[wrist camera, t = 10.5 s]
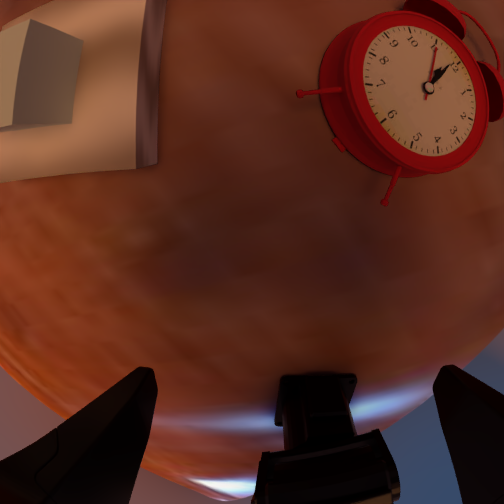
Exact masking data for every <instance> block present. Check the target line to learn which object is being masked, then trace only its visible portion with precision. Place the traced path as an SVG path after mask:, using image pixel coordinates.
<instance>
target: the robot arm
mask: <svg viewBox="0 0 504 504" xmlns="http://www.w3.org/2000/svg"><path fill="white" fill-rule="evenodd" d="M350 380H351V381H350ZM285 382H287V383H285ZM356 384H357V377H356V375H353V374H351V375H330V376H284V377H282V378H281V379H280V384H279V392H278V399H277V406H276V413H275V420H274V422H275V425H276V426H283V434H284V451H277V452H270V451H268V452H262V457H261V461H259V467H258V474H257V481H256V487H255V492H254V495H253V497H252V500H251V504H393V502H394V501H397V500H399V498H400V481H399V476H398V471H397V468H396V464H395V462H394V460H393V457H392V455H391V454H390V451H389V449H388V447H387V445H386V443H385V441H384V439H383V437H382V435H381V433H380V431H379V429H375V430H371V432H368V433H365V434H361V435H357V432H356V429H355V425H354V422H353V418H352V414H351V411H350V407H349V403H350V401H351V398H352V395H353V392H354V390H355V387H356ZM157 393H158V388H157V383H156V379H155V374H154V371H153V369H152V368H148V367H138V368H136V369H135V370H134V371H132V372H131V373H130V374H128V375H127V376H126V377H124V378H123V379H122V380H120V381H119V382H118V383H116V384H115V385H114V386H112V387H111V388H109V389H108V390H107V391H105V392H104V393H103V394H101V395H100V396H99V397H97V398H96V399H95V400H93V401H92V402H91V403H89V404H88V405H86V406H85V407H84V408H82V409H81V410H80V411H78V412H77V413H75V414H74V415H73V416H71V417H70V418H69V419H67V420H66V421H64V422H63V423H62V424H60V425H59V426H58V427H57V428H55V429H53V430H52V431H50V432H49V433H48V434H46V435H45V436H43V437H42V438H40V439H39V440H37V441H36V442H34V443H32V444H31V445H29V446H27V447H26V448H24V449H22V450H20V451H18V452H16V453H15V454H13V455H11V456H9V457H7V458H5V459H3V460H1V461H0V504H129V501H130V498H131V494H132V491H133V487H134V484H135V480H136V478H137V474H138V471H139V468H140V465H141V461H142V458H143V455H144V452H145V449H146V446H147V442H148V439H149V435H150V430H151V425H152V419H153V414H154V409H155V404H156V399H157ZM433 393H434V397H435V401H436V405H437V409H438V414H439V418H440V423H441V427H442V430H443V433H444V436H445V439H446V442H447V446H448V449H449V452H450V456H451V459H452V463H453V466H454V470H455V474H456V477H457V481H458V485H459V489H460V494H461V498H462V502H463V504H504V395H503V394H501V393H500V392H498V391H496V390H495V389H493V388H491V387H490V386H488V385H487V384H485V383H483V382H481V381H480V380H478V379H477V378H475V377H473V376H472V375H470V374H468V373H467V372H465V371H463V370H462V369H460V368H458V367H457V366H455V365H445V366H443V367H442V368H441V369H440V371H439V373H438V375H437V377H436V379H435V381H434V384H433Z"/></svg>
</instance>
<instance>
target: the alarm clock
mask: <svg viewBox="0 0 504 504" xmlns="http://www.w3.org/2000/svg"><path fill="white" fill-rule="evenodd" d="M403 10H404V11H391V12H385V13H381V14H378V15H375V16H373V17H371V18H370V19H368V20H365V21H361V22H358V23H356V24H353V25H351V26H349V27H348V28H346V29H345V30H343V31H342V32H341V33H340V34H339V35H337V37H336V38H335V39H334V40H333V41H332V43H331V44H330V45H329V47H328V49H327V50H326V52H325V54H324V57H323V60H322V63H321V67H320V73H319V89H318V90H310V91H302V90H297V91H296V95H297V97H298V98H303V96H304V95H313V94H320V99H321V103H322V107H323V110H324V113H325V116H326V118H327V121H328V123H329V125H330V127H331V129H332V130H333V132H334V134H335V135H336V137H335V138H334V139H333V140H332V141H333V142H334V144H335V145H336V146H337V147H338V149H339V150H340V151H341V152H343V151H344V150H346V149H347V150H348V151H349V152H350V153H351V154H352V155H353V156H354V157H356V158H357V159H358V160H359V161H361V162H362V163H364V164H365V165H367V166H368V167H370V168H372V169H374V170H376V171H379V172H382V173H384V174H387V175H391V176H393V177H392V179H391V182H390V186H389V188H388V191H387V193H386V195H385V198H384V199H382V200H381V201H380V203H381V204H382V205H384V206H387V205H388V203H389V202H388V198H389V196H390V194H391V191H392V189H393V187H394V186H395V184H396V182H397V179H398V177H405V178H408V177H419V176H423V175H426V174H439V173H444V172H448V171H451V170H453V169H456V168H458V167H460V166H462V165H463V164H465V163H466V162H468V161H469V160H470V159H471V158H472V157H473V156H474V155H475V153H476V152H477V151H478V149H479V148H480V146H481V144H482V142H483V140H484V137H485V134H486V131H487V127H488V122H494V121H497V120H500V119H501V118H503V117H504V80H503V78H502V76H501V75H500V59H499V55H498V53H497V51H496V48H495V46H494V44H493V42H492V41H491V39H490V37H489V36H488V34H487V33H486V31H485V30H484V29H483V27H482V26H481V25H480V24H479V23H478V22H477V21H476V20H475V18H473V17H472V16H471V15H470V14H468V13H466V12H464V11H461V10H457V8H455V7H454V6H453V5H452V4H451V3H450V2H448V1H447V0H406V2H405V4H404V7H403ZM461 14H464V15H466V16H468V17H469V18H470V19H472V20H473V21H474V22H475V23H476V25H477V26H478V27H479V28H480V29H481V31H482V32H483V33H484V35H485V36H486V38H487V39H488V41H489V43H490V45H491V47H492V48H493V50H494V53H495V56H496V59H497V70H496V69H495V68H494V67H493V66H491V65H490V64H488V63H486V62H481V61H476V60H475V58H474V56H473V55H472V53H471V52H470V50H469V49H468V48H467V46H466V45H465V44H464V43H463V41H462V39H463V38H464V37H465V34H466V23H465V21H464V18H463V17H462V15H461Z"/></svg>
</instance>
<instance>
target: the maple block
mask: <svg viewBox="0 0 504 504" xmlns="http://www.w3.org/2000/svg"><path fill="white" fill-rule="evenodd" d="M166 2H167V0H54V1H51V2H49V3H47V4H45V5H42V6H40V7H38V8H36V9H34V10H32V11H30V12H28V13H26V14H24V15H22V16H20V17H18V18H16V19H14V20H13V21H11V22H9V23H7V24H6V25H4V26H3V27H2V31H4V30H6V29H8V28H10V27H12V26H14V25H17V24H19V23H21V22H24V21H26V20H29V19H32V20H35V21H38V22H40V23H43V24H45V25H48V26H50V27H53V28H55V29H57V30H60V31H62V32H64V33H67V34H69V35H71V36H74V37H76V38H78V39H80V40H82V41H83V46H82V51H81V56H80V62H79V68H78V74H77V81H76V88H75V96H74V105H73V115H72V124H62V125H53V126H45V127H37V128H30V129H23V130H17V131H7V132H0V183H3V182H10V181H16V180H23V179H30V178H38V177H46V176H55V175H64V174H74V173H85V172H97V171H111V170H127V169H138V168H142V167H146V166H150V165H154V164H157V129H158V94H159V75H160V60H161V48H162V37H163V27H164V18H165V9H166Z"/></svg>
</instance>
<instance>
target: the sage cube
mask: <svg viewBox="0 0 504 504" xmlns="http://www.w3.org/2000/svg"><path fill="white" fill-rule="evenodd" d="M82 46H83V41H82V40H80V39H78V38H76V37H74V36H71V35H69V34H67V33H64V32H62V31H60V30H57V29H55V28H53V27H50V26H48V25H45V24H43V23H40V22H38V21H35V20H32V19H29V20H26V21H24V22H21V23H19V24H17V25H14V26H12V27H10V28H8V29H6V30H4V31H1V32H0V132H7V131H17V130H23V129H30V128H37V127H45V126H53V125H62V124H72V115H73V105H74V96H75V88H76V81H77V74H78V68H79V62H80V56H81V51H82Z"/></svg>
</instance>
